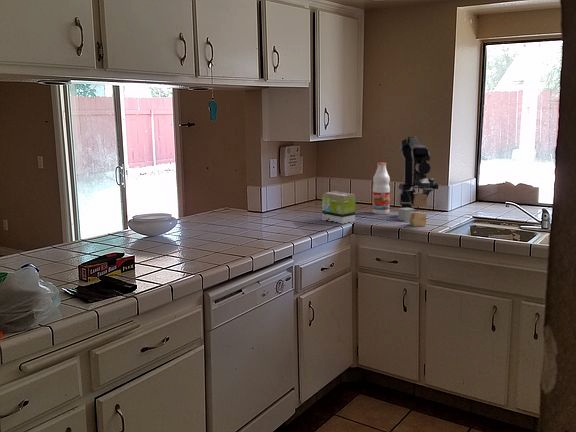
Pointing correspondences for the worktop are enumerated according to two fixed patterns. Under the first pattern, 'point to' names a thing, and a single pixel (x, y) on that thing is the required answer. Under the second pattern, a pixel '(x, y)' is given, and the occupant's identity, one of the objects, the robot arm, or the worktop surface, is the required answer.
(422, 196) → the walnut block
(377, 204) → the fruit juice
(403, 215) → the grey block
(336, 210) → the tea box
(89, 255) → the worktop surface
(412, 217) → the oak block
